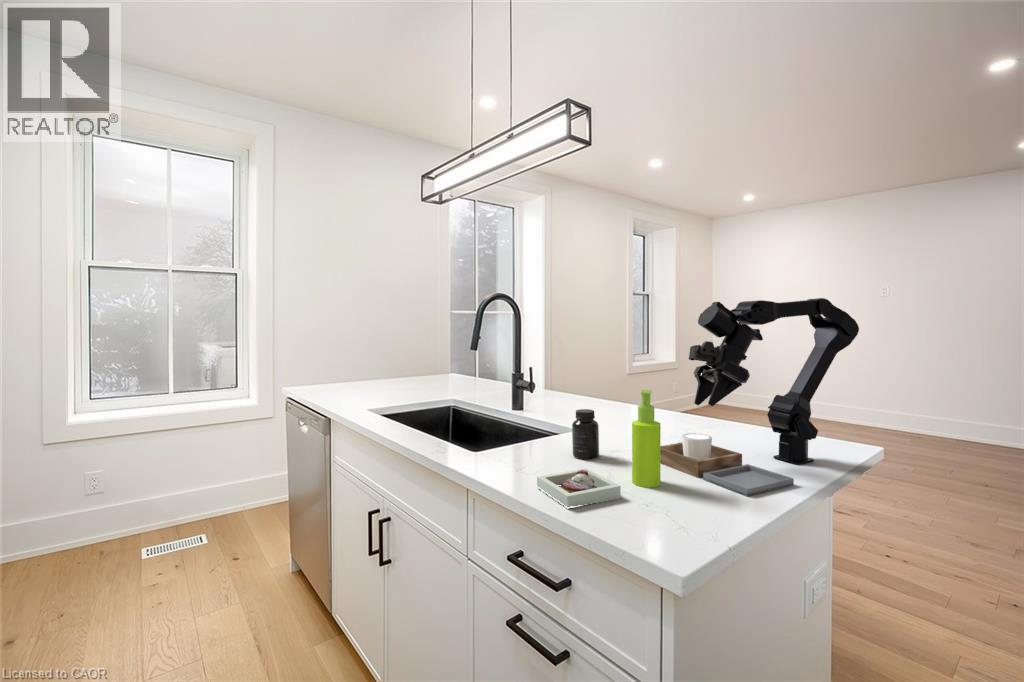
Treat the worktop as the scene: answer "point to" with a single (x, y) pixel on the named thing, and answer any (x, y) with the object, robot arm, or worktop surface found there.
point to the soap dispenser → (646, 445)
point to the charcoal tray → (748, 479)
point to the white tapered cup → (696, 446)
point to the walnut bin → (717, 461)
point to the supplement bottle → (585, 435)
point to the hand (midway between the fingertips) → (702, 404)
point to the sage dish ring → (602, 493)
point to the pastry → (578, 482)
